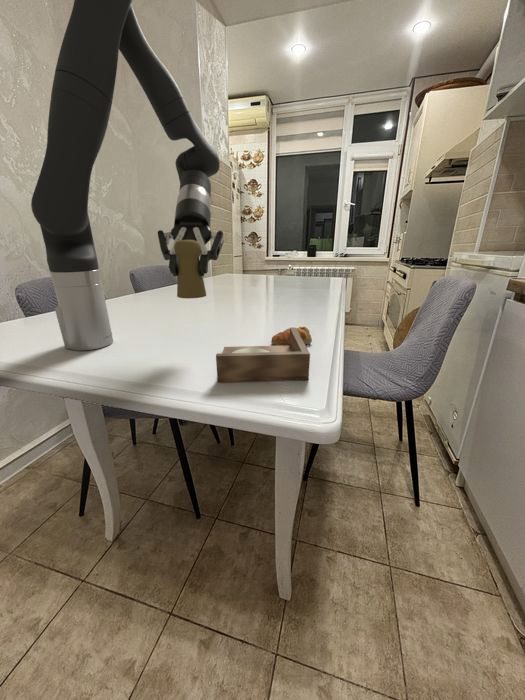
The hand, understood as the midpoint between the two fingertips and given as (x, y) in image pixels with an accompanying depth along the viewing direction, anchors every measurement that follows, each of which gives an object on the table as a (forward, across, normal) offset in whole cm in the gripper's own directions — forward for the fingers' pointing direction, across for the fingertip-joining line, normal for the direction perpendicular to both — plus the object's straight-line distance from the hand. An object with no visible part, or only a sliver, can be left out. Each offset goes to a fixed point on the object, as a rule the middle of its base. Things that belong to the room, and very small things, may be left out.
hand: (188, 273), depth 57 cm
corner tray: (+16, +14, +8) cm, 23 cm away
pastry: (+8, +22, +16) cm, 29 cm away
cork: (+2, 0, +5) cm, 5 cm away
